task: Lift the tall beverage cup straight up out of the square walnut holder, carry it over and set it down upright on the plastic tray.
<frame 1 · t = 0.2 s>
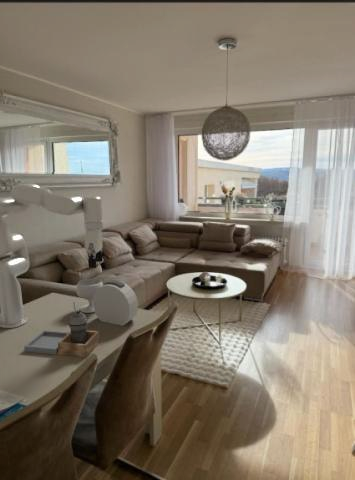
hand: (95, 264, 145), 31 cm above the table, tool pointing down, fingers open, 9 cm apart
beverage cup: (79, 348, 137), resting in holder
tray: (50, 344, 140), on the table
holder: (79, 348, 137), on the table
chalice: (91, 309, 177), on the table
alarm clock: (116, 320, 163), on the table
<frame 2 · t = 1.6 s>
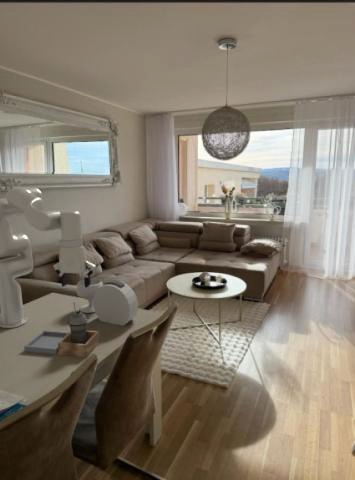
hand: (76, 285, 131), 27 cm above the table, tool pointing down, fingers open, 9 cm apart
nothing on the table moved.
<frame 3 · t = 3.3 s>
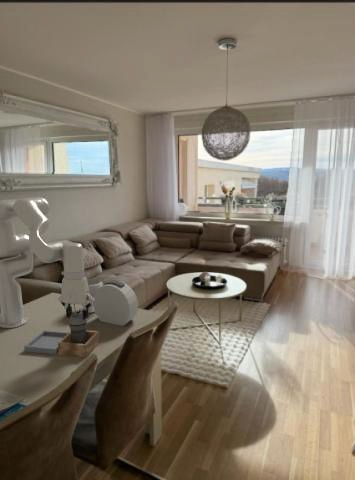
hand: (77, 317, 134), 14 cm above the table, tool pointing down, fingers closed on beverage cup, 6 cm apart
beverage cup: (79, 348, 137), resting in holder, touching gripper
everything else where it was.
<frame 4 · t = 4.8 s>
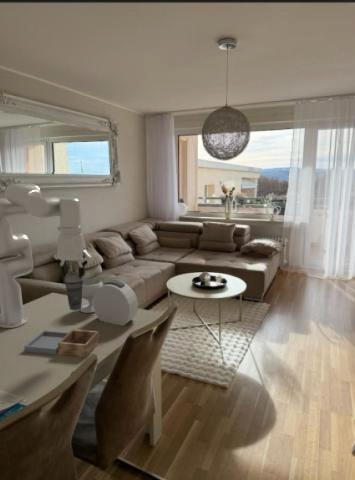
hand: (73, 275, 131), 31 cm above the table, tool pointing down, fingers closed on beverage cup, 6 cm apart
beverage cup: (75, 308, 134), point 17 cm above the table, touching gripper
everything else where it was.
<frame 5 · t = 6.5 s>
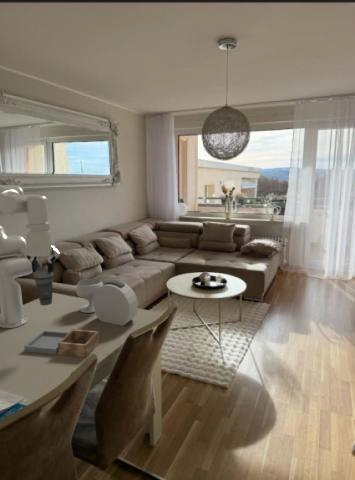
hand: (43, 271, 134), 32 cm above the table, tool pointing down, fingers closed on beverage cup, 6 cm apart
beverage cup: (46, 303, 136), point 18 cm above the table, touching gripper
everything else where it was.
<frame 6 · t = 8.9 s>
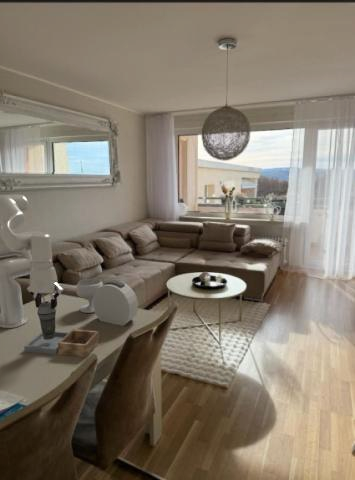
hand: (46, 306, 137), 17 cm above the table, tool pointing down, fingers closed on beverage cup, 6 cm apart
beverage cup: (49, 337, 139), point 3 cm above the table, touching gripper
everything else where it was.
when the fingers open (16 cm above the table, at t = 9.7 s): beverage cup drops 1 cm, resting on tray.
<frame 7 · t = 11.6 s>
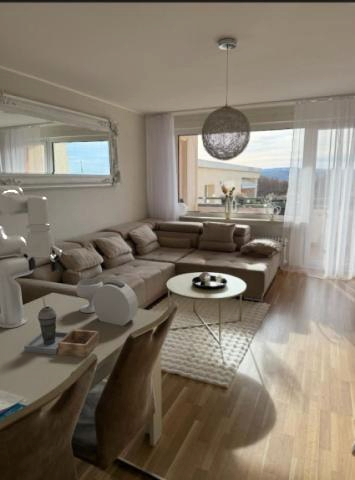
hand: (43, 270, 134), 32 cm above the table, tool pointing down, fingers open, 9 cm apart
beverage cup: (49, 342, 140), point 1 cm above the table, touching tray
everything else where it was.
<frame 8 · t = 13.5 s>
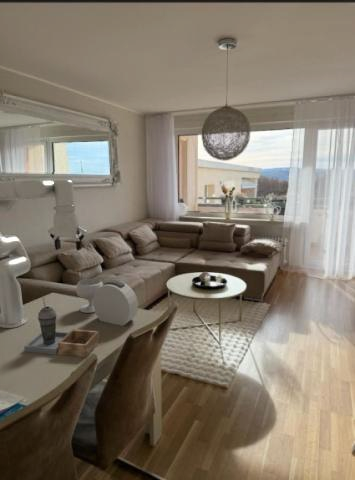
hand: (68, 249, 143), 38 cm above the table, tool pointing down, fingers open, 9 cm apart
nothing on the table moved.
at the end: beverage cup inside the target area on the tray (0.2 cm from its centre), point 0.6 cm above the tray's base; beverage cup tilted 0°; the gripper is holding nothing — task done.
